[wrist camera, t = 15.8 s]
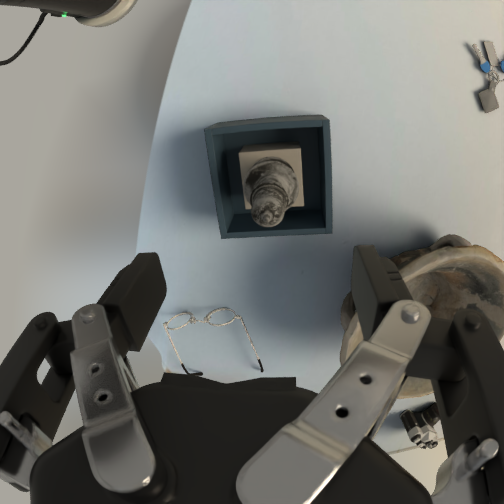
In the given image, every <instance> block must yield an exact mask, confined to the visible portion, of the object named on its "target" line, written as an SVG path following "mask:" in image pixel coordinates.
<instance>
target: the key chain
mask: <svg viewBox="0 0 504 504" xmlns="http://www.w3.org/2000/svg"><path fill="white" fill-rule="evenodd" d="M484 45H485V48H486V51H487V54H488V58H489V61H490V65H491V66H493V67H494V66H500V65H499V63H498V59H497V56H496V52H495V49H494V45H493V42H484ZM472 46H473V48H474V50H475V52H476V53H477V55H478V57H479V59H480V67H481V69H482V70H483V71H484V72H489V71H490V65H489V62H488V61H487V60H485V59H484V57H483V56H482V54H481V52H480V50H479V49H478V48H477V45H476V44H473V45H472ZM493 67H492V70H491V71H490V72H489V73H488V78H489V81H490V84H489V88H488V89H486V90H484V91H482V92H480V93H479V97H480V100H481V103H482V106H483V108H484V111H485V113H488V112H491V111H493V110H495V109H497V108H498V107H499V105H498V102H497V99H496V96H495V87H496V84H498V82H499V81H500V80H499V76H498V74H497V73H496V72H495V71H493ZM500 67H501V69H502V71H503V72H504V61H501V66H500ZM491 73H492V76H494V75H493V73H495V74H496V76H497V79H496V78H495V77H494V78H495V79H496V80H497V82H494V81H493V80H491V79H490V76H491V75H490V74H491ZM501 81H504V79H503V80H501ZM501 81H500V82H501Z"/></svg>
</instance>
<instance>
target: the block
mask: <svg viewBox="0 0 504 504" xmlns="http://www.w3.org/2000/svg"><path fill="white" fill-rule="evenodd" d="M272 156H273V157H279V158H281V159H284V160H285V161H286V162H288V163H289V164H290V165H291V167H292V168H293V170H294V173H295V175H296V176H297V179H298V182H299V193H298V197H297V199H296V201H295V202H294V204H293V205H292V206H291V207H295V206H304V198H303V179H302V162H301V148H300V145H299V142H280V143H266V144H254V145H244V146H243V148H242V149H241V150H240V152H239V161H240V169H241V177H242V185H243V183H244V179H245V176H246V174H247V173H248V171H249V170H250V169H251V168H252V167H253V166H254V165H255V163H256V162H258V161H259V160H260V159H263V158H265V157H272ZM243 193H244V190H243ZM244 201H245V209H251V205H250V204H249V202H248V201H247V199H246V197H245V195H244Z"/></svg>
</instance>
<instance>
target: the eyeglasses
mask: <svg viewBox="0 0 504 504" xmlns="http://www.w3.org/2000/svg"><path fill="white" fill-rule="evenodd" d="M220 310H230V311H232V312H234V311H233V310H231V309H227V308H220V309H216V310H213V311H211V312H210V313H208V314H207V315H206V317H204V322H203V321H200V320H196V319H195V317H194V316H193V314H192V313H191V312H182V313H181V314H178V315H176V316H174V317H172V318H171V319H170V320H169V321H168V322H165V323H163V326H164V328H165V330H166V332H167V335H168V337H169V339H170V341H171V343H172V345H173V348H174V350H175V352H176V354H177V356H178V353H177V351H176V348H175V346H174V344H173V342H172V339H171V337H170V335H169V333H168V330H167V328H168V323H169V322H170V321H171V320H172V319H174V318H175V317H177V316H179V315H183V314H189V315H191V314H192V316H191V318H190V320H189V321H188V322H187V323H186V324H184V325H182V326H180V327H178V328H168V329H170V330H176V329H180V328H182V327H184V326H186V325H187V324H188V323H189V322H190V323H191V324H192V323H193V322H194V324H195V323H196V321H200V322H203V323H205V320H206V323H209V324H210V325H213V326H223V325H227V324H229V323H231V322H232V321H233V320H234V319H235V318H237V319H240V320H241V321H242V324H243V326H244V328H245V331H246V333H247V335H248V338H249V340H250V342H251V344H252V347H253V349H254V351H255V348H254V346H253V343H252V341H251V339H250V336H249V334H248V331H247V329H246V327H245V324H244V322H243V319H242V317H241V316H239V315H236V314H235V312H234V314H235V316H234V318H233V319H232V320H231V321H229V322H227V323H225V324H212V323H210V322H209V320H210V318H211V317H210V315H211V314H213V313H214V312H217V311H220ZM166 325H167V328H166ZM255 353H256V351H255ZM256 355H257V353H256ZM178 357H179V356H178ZM179 360H180V358H179ZM257 360H258V362H259V364H260V367H261V372H263V367H262V364H261V361H260V359H259V357H258V356H257ZM180 363H181V365H182V367H183V369H184V370H185V372H186V373H187V374H188V375H196V376H202V375H203V373H202V372H200V373H191V374H190V373H188V372H187V370H186V368H185V367H184V365H183V363H182V361H181V360H180Z"/></svg>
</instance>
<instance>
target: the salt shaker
mask: <svg viewBox="0 0 504 504" xmlns="http://www.w3.org/2000/svg"><path fill="white" fill-rule="evenodd" d="M243 190H244V195H245V197H246V199H247V201H248V202H249V204H250V205H251V215H252V218H253V220H254V221H255V222H256V223H257V224H258V225H260V226H263V227H273V226H276V225H277V224H279V223H280V222H281V221H282V219H283V217H284V213H285V211H286V210H287V209H288V208H290V207H291V206H292V205H293V204H294V202H295V201H296V199H297V197H298V193H299V182H298V179H297V176H296V175H295V173H294V170H293V168H292V167H291V165H290V164H289V163H288V162H286V161H285V160H284V159H281V158H279V157H273V156H272V157H265V158H263V159H260V160H259V161H258V162H256V163H255V165H254V166H253V167H252V168H251V169H250V170H249V171H248V173H247V174H246V176H245V179H244V183H243Z"/></svg>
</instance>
